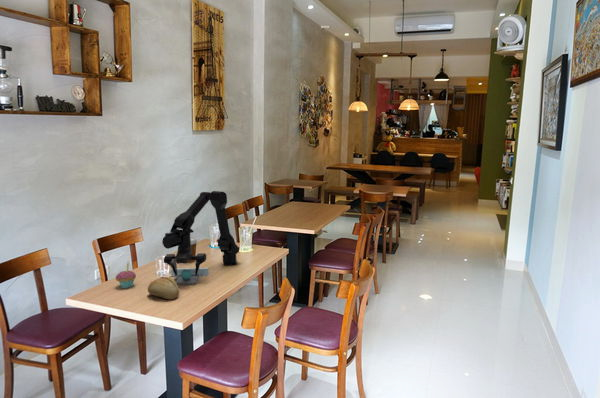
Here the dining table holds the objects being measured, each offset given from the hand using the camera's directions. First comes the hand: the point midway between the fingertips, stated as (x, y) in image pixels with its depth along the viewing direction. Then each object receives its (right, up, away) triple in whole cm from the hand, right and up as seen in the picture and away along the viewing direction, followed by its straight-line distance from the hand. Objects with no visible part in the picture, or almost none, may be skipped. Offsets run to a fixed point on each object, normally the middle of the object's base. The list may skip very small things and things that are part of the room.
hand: (186, 275), depth 210 cm
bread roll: (-5, -6, -18) cm, 20 cm away
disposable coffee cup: (-6, +2, +31) cm, 32 cm away
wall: (0, -1, +8) cm, 8 cm away
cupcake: (-26, -4, -5) cm, 27 cm away
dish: (0, -2, 0) cm, 2 cm away
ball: (0, +1, 0) cm, 1 cm away
